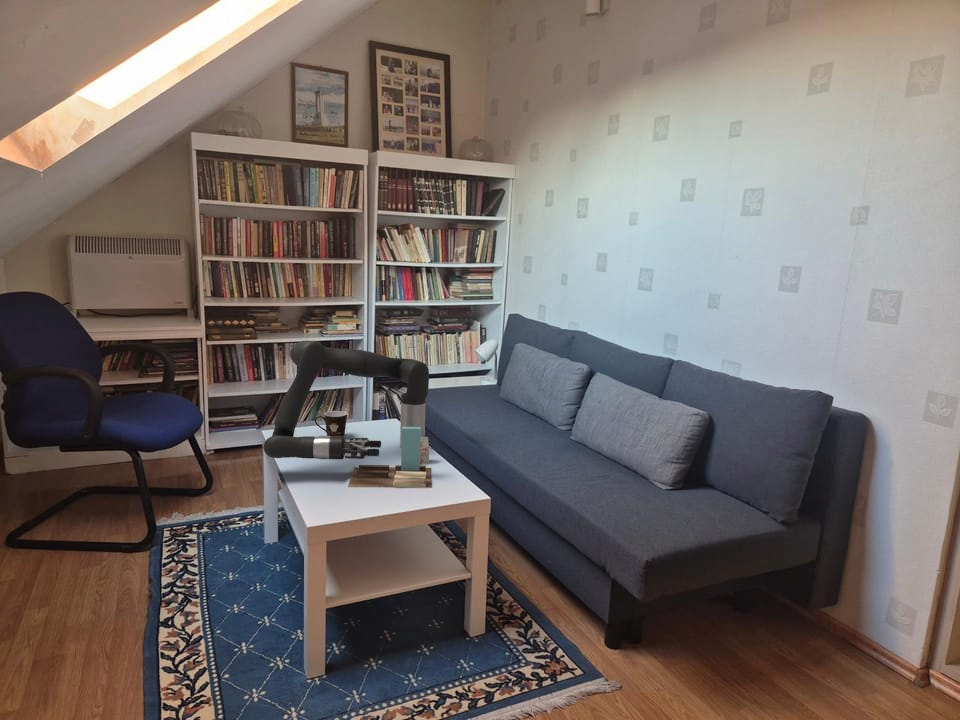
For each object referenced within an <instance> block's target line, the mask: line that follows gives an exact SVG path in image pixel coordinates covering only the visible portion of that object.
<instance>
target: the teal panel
mask: <svg viewBox="0 0 960 720" xmlns="http://www.w3.org/2000/svg"><path fill="white" fill-rule="evenodd" d="M420 437H421V427H402V448H401V453H400V454H401V455H400V456H401V458H400V460H401V462H400V465H401V471H420V466H421V464H420Z"/></svg>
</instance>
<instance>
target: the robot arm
mask: <svg viewBox="0 0 960 720" xmlns="http://www.w3.org/2000/svg"><path fill="white" fill-rule="evenodd" d="M289 356H290V360H292V361H291V362H292V363H294V365H296V366H297V367H298V368H297V372H296V375H295V378H294V379H293V382H292V383H291V385H290V386H289V388H288V390H287V391H286V393H285V394H284V396H282V397H283V398H282V400H281V401H280V404H279V407H278V409H277V413H276V415H275V418H274V421H273V422H274V429H273V432H272V435H271V436H269V437H267V438H266V440H264V443H263V451H264V453H265V455H267V457H269V458H272V459H282V458H284V459H285V458H298V459H317V460H337V461H338V460H344V458H345V459H347V460H348V459H351V460H352V459H354V460H356V459H357V460H364V459H365V458H367V457H379V455H380V449H379V448H381V447H382V441H381V440H370V439H369V437H350V438H349V441H348V440H347V441H346V438H345V436H327V435H320V436H319V435H317V436H314V435H313V436H310V435H309V436H306V435H305V436H294V435H295V430H296V428H297V425H298V422H299V418H300V416H301V414H302V410H303V407H304V405H305V403H306V402H305V401H306V399H307V397H308V394H309V392H310V391H311V388H312V386H313V383H314V382H315V380H316V378H317V376H318V374H319V372H320V371H321V369H325V370H331V371H335V372H338V373H342V374H346V375H351V376H356V377H362V378H368V379H369V378H371V379H372V378H373V379H374V378H383V377H385V378H391V379H395V380H398V381H401V382H403V383H406V392H403V393H402V394H401V396H400V423H399V424H400V427H399V428H400V429H399V431H400V432H399V433H400V435H399V447H400V448H401V449H402V427H421V437H426V434H425V433H426V400H427V397H428V395H429V394H428V393H429V383H430V369H429V367H428V365H427V364H426V363H425V362H423V361H420V360H417V359H413V358H399V357H398V358H396V357H389V356H386V355H383V354H381V353H376V352H372V351H368V350H361V349H355V348H354V349H353V348H352V349H351V348H334V347H327V346H324V345H323V344H322V343H321V342H319V341H316V340H301V341H298V342H296V343H295V344H294V345H293V346H292V347H291V348H290V352H289Z"/></svg>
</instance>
